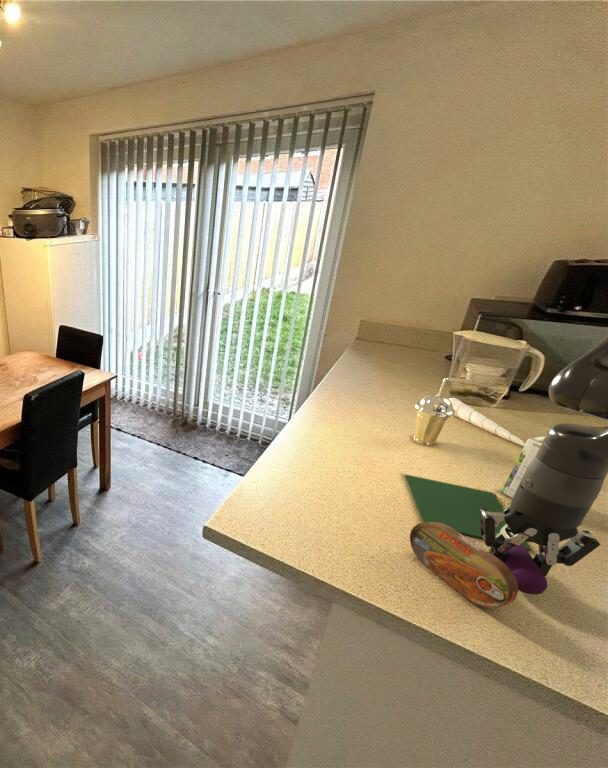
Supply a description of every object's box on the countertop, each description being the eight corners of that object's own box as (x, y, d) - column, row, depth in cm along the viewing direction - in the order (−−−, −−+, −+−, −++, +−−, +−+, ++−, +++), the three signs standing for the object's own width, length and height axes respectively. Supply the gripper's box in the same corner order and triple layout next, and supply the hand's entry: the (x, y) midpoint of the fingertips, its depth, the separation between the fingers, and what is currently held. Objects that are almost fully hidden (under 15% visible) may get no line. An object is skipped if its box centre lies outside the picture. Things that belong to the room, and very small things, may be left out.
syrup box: (520, 488, 89) (548, 433, 83) (552, 506, 84) (584, 448, 78) (500, 492, 88) (527, 436, 83) (531, 509, 83) (562, 451, 77)
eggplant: (510, 547, 72) (520, 529, 71) (546, 605, 62) (558, 585, 60) (479, 539, 74) (488, 521, 73) (509, 594, 64) (520, 575, 62)
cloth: (491, 494, 88) (492, 492, 88) (529, 550, 73) (530, 549, 73) (404, 475, 94) (405, 474, 94) (423, 524, 79) (424, 523, 79)
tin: (403, 548, 74) (416, 513, 71) (416, 545, 75) (430, 510, 71) (493, 621, 60) (515, 582, 57) (509, 616, 61) (531, 577, 58)
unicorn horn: (517, 450, 103) (524, 435, 101) (438, 410, 125) (443, 397, 123) (533, 449, 104) (541, 434, 102) (451, 410, 125) (457, 396, 124)
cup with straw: (420, 431, 113) (443, 367, 105) (453, 447, 105) (480, 379, 97) (396, 435, 111) (418, 370, 104) (428, 452, 103) (454, 383, 95)
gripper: (607, 487, 61) (558, 568, 67) (486, 465, 67) (453, 541, 73) (641, 518, 55) (584, 604, 61) (505, 491, 60) (467, 572, 67)
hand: (513, 569), depth 67 cm, fingers closed on eggplant, 4 cm apart
